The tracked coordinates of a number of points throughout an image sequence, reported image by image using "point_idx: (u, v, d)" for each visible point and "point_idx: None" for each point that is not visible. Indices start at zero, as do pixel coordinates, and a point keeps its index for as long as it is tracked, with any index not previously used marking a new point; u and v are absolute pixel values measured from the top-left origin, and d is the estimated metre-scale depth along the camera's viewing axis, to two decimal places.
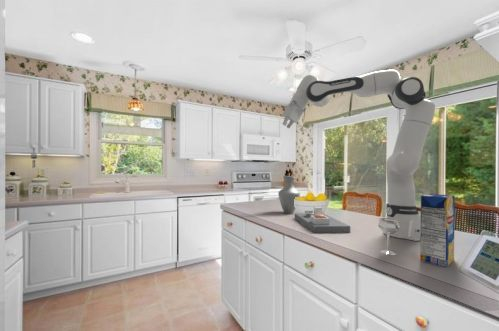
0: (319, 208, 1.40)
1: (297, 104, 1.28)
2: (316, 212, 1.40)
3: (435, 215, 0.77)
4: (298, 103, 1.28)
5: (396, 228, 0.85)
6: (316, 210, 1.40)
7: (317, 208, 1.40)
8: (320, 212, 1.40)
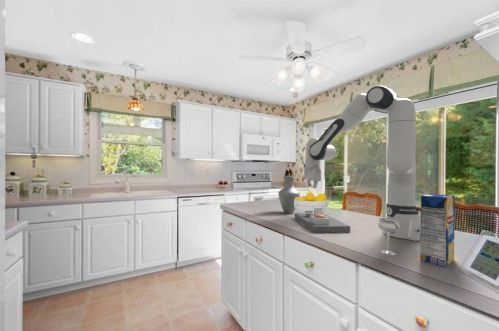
0: (319, 208, 1.40)
1: None
2: (316, 212, 1.40)
3: (435, 215, 0.77)
4: None
5: (396, 228, 0.85)
6: (316, 210, 1.40)
7: (317, 208, 1.40)
8: (320, 212, 1.40)
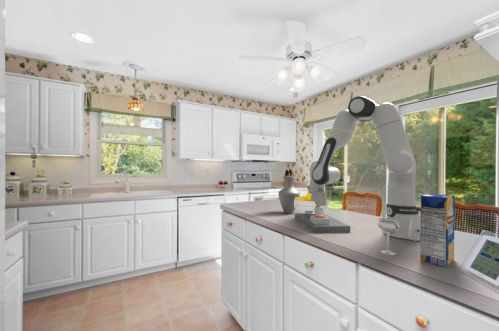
0: (320, 208, 1.39)
1: None
2: (317, 212, 1.39)
3: (435, 215, 0.77)
4: (322, 188, 1.39)
5: (396, 228, 0.85)
6: (317, 210, 1.39)
7: (318, 208, 1.39)
8: (321, 212, 1.39)
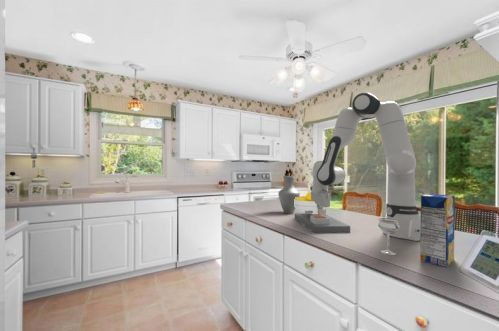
0: (323, 210, 1.34)
1: None
2: None
3: (435, 215, 0.77)
4: (325, 189, 1.35)
5: (396, 228, 0.85)
6: (320, 212, 1.34)
7: (321, 210, 1.34)
8: (324, 214, 1.34)
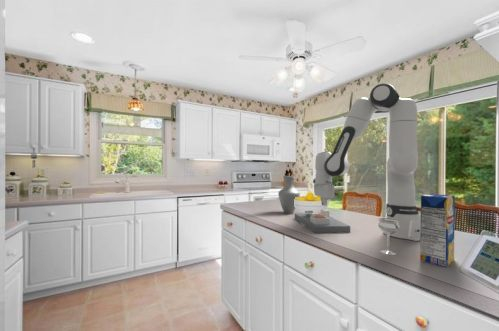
0: (326, 211, 1.30)
1: None
2: None
3: (435, 215, 0.77)
4: (329, 181, 1.30)
5: (396, 228, 0.85)
6: (323, 213, 1.30)
7: (324, 211, 1.30)
8: (327, 215, 1.30)
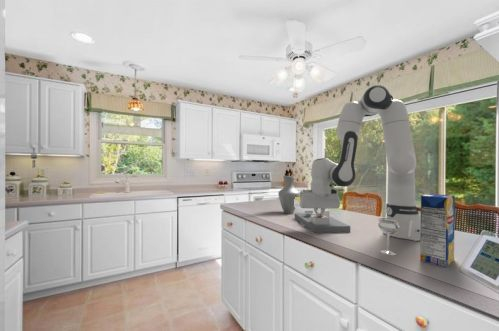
0: (326, 211, 1.30)
1: (312, 191, 1.19)
2: None
3: (435, 215, 0.77)
4: (312, 190, 1.19)
5: (396, 228, 0.85)
6: (323, 213, 1.30)
7: None
8: (327, 215, 1.30)
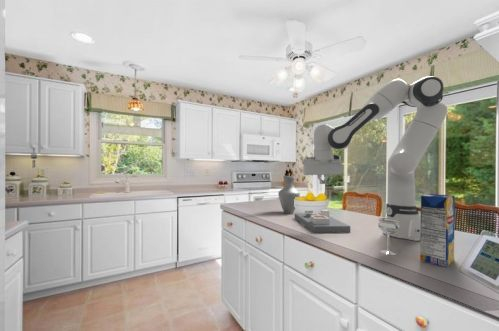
0: (326, 211, 1.30)
1: (315, 158, 1.21)
2: None
3: (435, 215, 0.77)
4: (315, 157, 1.20)
5: (396, 228, 0.85)
6: (323, 213, 1.30)
7: (324, 211, 1.30)
8: (327, 215, 1.30)
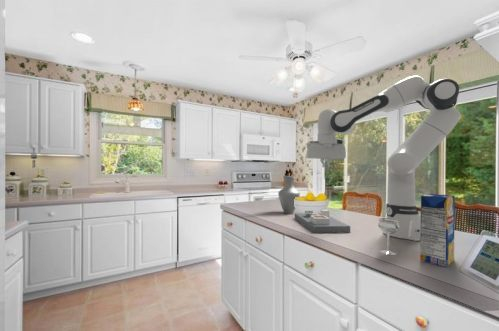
0: (326, 211, 1.30)
1: (319, 142, 1.24)
2: None
3: (435, 215, 0.77)
4: (319, 141, 1.23)
5: (396, 228, 0.85)
6: (323, 213, 1.30)
7: (324, 211, 1.30)
8: (327, 215, 1.30)
